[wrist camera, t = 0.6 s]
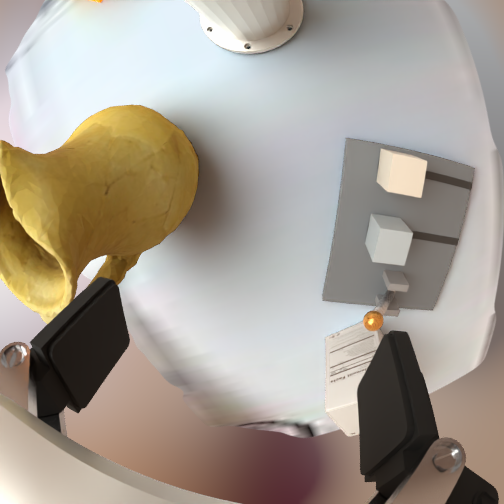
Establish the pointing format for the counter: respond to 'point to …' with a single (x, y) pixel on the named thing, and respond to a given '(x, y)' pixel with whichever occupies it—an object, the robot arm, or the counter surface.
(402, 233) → the white cube
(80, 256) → the pitcher
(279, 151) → the counter surface
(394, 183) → the cream slider
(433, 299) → the panel
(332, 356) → the supplement box
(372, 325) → the lever
